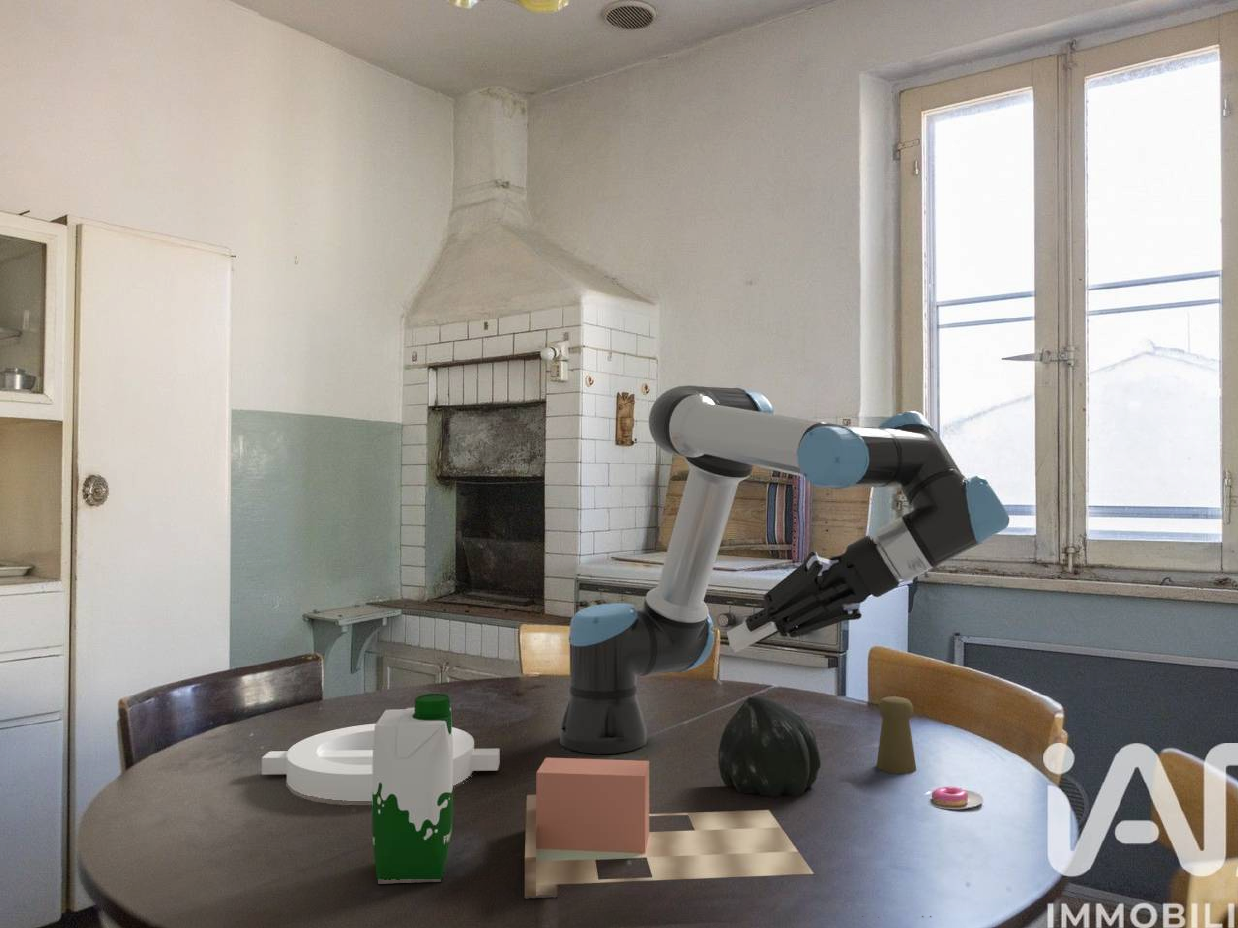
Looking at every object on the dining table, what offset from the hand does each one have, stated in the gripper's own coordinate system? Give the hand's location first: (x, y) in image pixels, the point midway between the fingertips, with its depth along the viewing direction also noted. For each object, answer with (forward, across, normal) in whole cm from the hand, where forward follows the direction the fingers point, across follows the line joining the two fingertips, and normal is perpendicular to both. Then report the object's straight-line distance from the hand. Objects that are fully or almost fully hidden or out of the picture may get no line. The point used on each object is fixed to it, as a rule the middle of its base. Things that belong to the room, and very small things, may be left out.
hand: (731, 642), depth 125 cm
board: (+17, +1, -24) cm, 29 cm away
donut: (-13, +37, -13) cm, 42 cm away
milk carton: (+39, -17, -24) cm, 49 cm away
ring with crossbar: (+60, -5, +5) cm, 60 cm away
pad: (+24, -4, -24) cm, 34 cm away
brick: (+22, -4, -21) cm, 31 cm away
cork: (-5, +42, 0) cm, 43 cm away
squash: (+9, +23, -8) cm, 26 cm away
